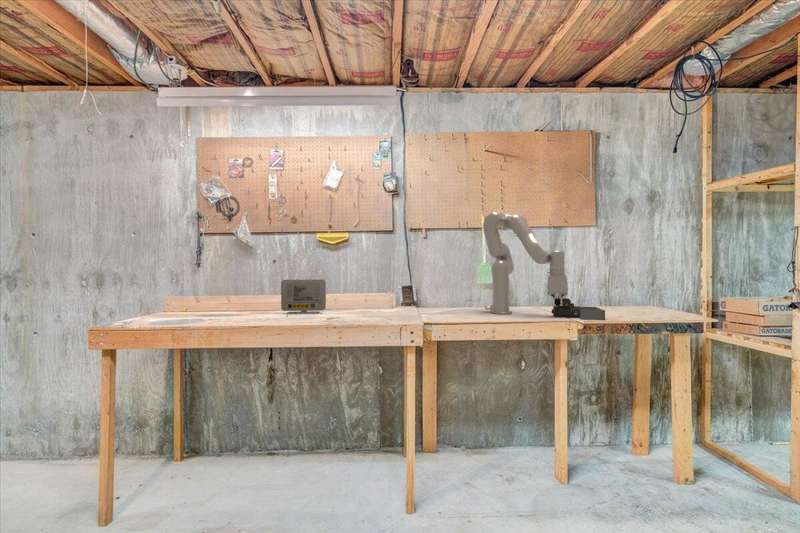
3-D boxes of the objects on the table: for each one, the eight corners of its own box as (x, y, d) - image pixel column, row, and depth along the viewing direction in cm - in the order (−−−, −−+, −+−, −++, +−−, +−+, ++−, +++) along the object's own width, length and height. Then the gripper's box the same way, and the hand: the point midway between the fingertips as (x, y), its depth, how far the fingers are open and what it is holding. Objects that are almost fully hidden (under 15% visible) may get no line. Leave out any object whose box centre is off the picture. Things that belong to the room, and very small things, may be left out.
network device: (326, 312, 252) (326, 279, 251) (324, 314, 243) (324, 279, 243) (283, 312, 250) (283, 279, 250) (280, 314, 241) (280, 280, 241)
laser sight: (597, 319, 219) (597, 300, 219) (552, 317, 226) (552, 299, 226) (594, 317, 229) (594, 299, 229) (551, 315, 236) (551, 298, 235)
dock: (580, 319, 219) (580, 309, 219) (573, 315, 235) (573, 306, 235) (605, 319, 216) (605, 310, 216) (596, 315, 233) (596, 306, 233)
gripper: (544, 273, 227) (544, 306, 227) (573, 272, 224) (573, 306, 224) (542, 272, 234) (542, 305, 234) (570, 272, 231) (570, 305, 231)
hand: (557, 305), depth 229 cm, fingers closed
